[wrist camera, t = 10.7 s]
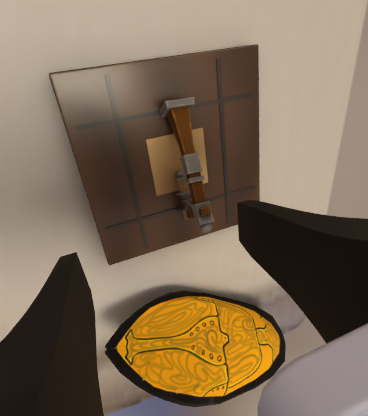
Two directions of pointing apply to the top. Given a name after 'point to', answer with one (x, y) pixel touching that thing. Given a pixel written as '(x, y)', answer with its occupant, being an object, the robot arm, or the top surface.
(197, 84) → the board
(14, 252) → the top surface
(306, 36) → the top surface
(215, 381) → the ornate golden shield
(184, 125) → the wooden post with brackets
